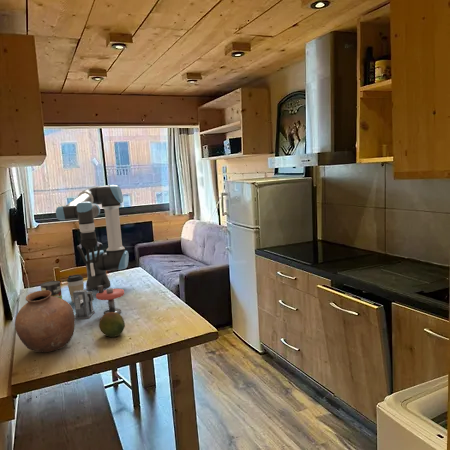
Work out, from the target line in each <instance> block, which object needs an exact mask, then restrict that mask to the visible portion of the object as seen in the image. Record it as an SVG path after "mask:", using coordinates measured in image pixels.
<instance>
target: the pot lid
mask: <svg viewBox="0 0 450 450" xmlns="http://www.w3.org/2000/svg"><path fill="white" fill-rule="evenodd" d="M97 287H98V290H97V293H96V294H95V298H96V300H99V301H108V300H111V299H114V300H115V299H116V300H117V299H119V298H122V297H123V296H124V295H125V290H124V289H123V288H113V287H107V288H105V289H103V285H99V286H97Z"/></svg>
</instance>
